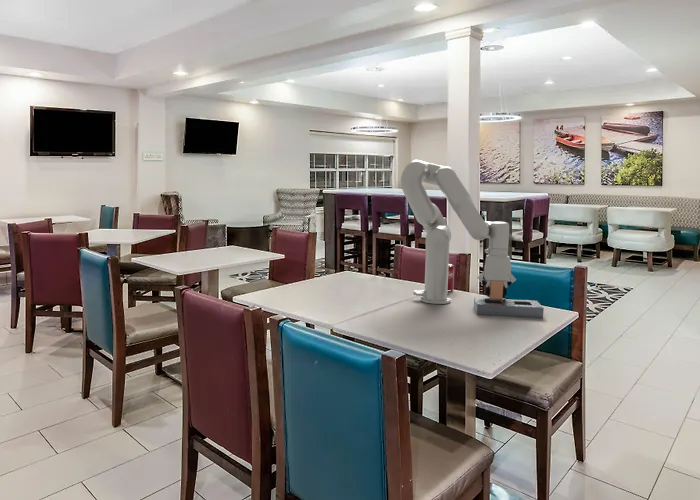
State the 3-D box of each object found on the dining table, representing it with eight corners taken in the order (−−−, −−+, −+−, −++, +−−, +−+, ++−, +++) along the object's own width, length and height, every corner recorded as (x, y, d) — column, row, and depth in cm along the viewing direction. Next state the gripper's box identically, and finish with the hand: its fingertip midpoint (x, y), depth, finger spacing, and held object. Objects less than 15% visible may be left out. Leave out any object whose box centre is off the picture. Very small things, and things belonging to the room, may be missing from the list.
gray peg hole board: (476, 314, 191) (477, 304, 191) (473, 307, 203) (474, 297, 203) (543, 318, 188) (543, 307, 187) (536, 310, 200) (536, 300, 199)
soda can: (453, 292, 233) (454, 266, 231) (437, 291, 234) (438, 265, 233) (453, 289, 240) (454, 264, 238) (437, 288, 241) (438, 263, 240)
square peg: (490, 306, 205) (491, 277, 203) (488, 304, 209) (490, 275, 208) (501, 307, 204) (503, 278, 203) (500, 304, 209) (501, 276, 207)
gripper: (477, 252, 202) (475, 297, 204) (521, 254, 199) (519, 299, 201) (475, 250, 209) (473, 293, 211) (518, 252, 206) (515, 295, 209)
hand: (495, 296), depth 206 cm, fingers open, 5 cm apart
